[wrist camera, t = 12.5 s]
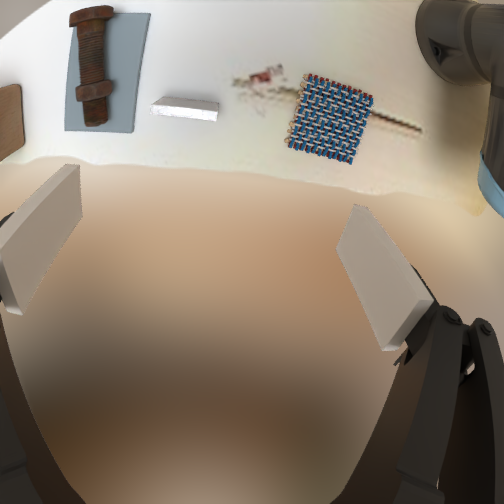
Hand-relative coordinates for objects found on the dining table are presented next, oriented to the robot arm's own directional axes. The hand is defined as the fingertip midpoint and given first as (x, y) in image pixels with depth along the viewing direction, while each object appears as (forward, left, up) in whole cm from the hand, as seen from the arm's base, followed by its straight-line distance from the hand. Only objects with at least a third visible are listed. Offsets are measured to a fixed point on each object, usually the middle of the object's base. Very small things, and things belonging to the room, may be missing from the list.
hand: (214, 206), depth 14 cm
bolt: (+16, -5, -26) cm, 31 cm away
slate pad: (+16, -4, -27) cm, 31 cm away
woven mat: (-14, -2, -27) cm, 31 cm away
